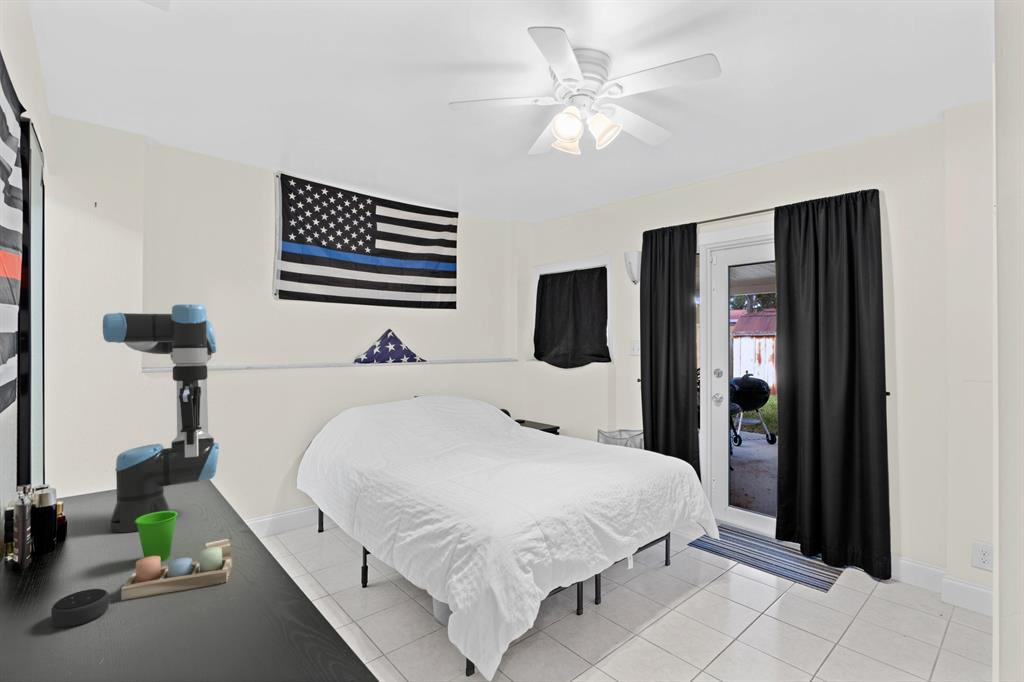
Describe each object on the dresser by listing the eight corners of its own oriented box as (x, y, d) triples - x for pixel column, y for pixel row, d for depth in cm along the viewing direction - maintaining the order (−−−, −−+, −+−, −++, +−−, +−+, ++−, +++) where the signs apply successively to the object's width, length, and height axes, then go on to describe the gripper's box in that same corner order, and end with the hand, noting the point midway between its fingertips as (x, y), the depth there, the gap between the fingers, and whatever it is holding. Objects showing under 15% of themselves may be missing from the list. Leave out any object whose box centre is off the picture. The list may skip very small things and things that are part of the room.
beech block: (205, 563, 127) (205, 543, 127) (228, 557, 130) (228, 538, 130) (207, 570, 123) (207, 550, 123) (230, 564, 126) (230, 545, 126)
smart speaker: (79, 605, 107) (78, 587, 107) (119, 605, 107) (119, 587, 107) (38, 629, 98) (38, 609, 98) (82, 630, 98) (82, 609, 98)
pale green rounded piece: (201, 565, 120) (201, 548, 120) (223, 562, 122) (223, 545, 122) (197, 573, 116) (197, 556, 116) (220, 570, 118) (220, 553, 118)
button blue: (171, 576, 118) (171, 559, 118) (194, 572, 120) (193, 556, 120) (166, 585, 114) (165, 567, 114) (189, 581, 115) (189, 564, 115)
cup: (156, 568, 124) (155, 524, 124) (126, 565, 125) (125, 522, 125) (187, 553, 133) (186, 511, 132) (158, 550, 134) (157, 509, 134)
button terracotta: (139, 575, 116) (139, 557, 116) (163, 571, 117) (162, 554, 117) (132, 584, 112) (132, 566, 111) (157, 580, 113) (157, 562, 113)
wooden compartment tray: (135, 581, 117) (134, 570, 117) (232, 566, 125) (232, 556, 125) (121, 600, 109) (121, 588, 109) (226, 582, 116) (226, 571, 116)
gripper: (179, 364, 134) (180, 452, 134) (165, 366, 121) (167, 463, 122) (211, 363, 136) (213, 449, 137) (201, 365, 124) (203, 460, 124)
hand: (191, 456), depth 129 cm, fingers closed
